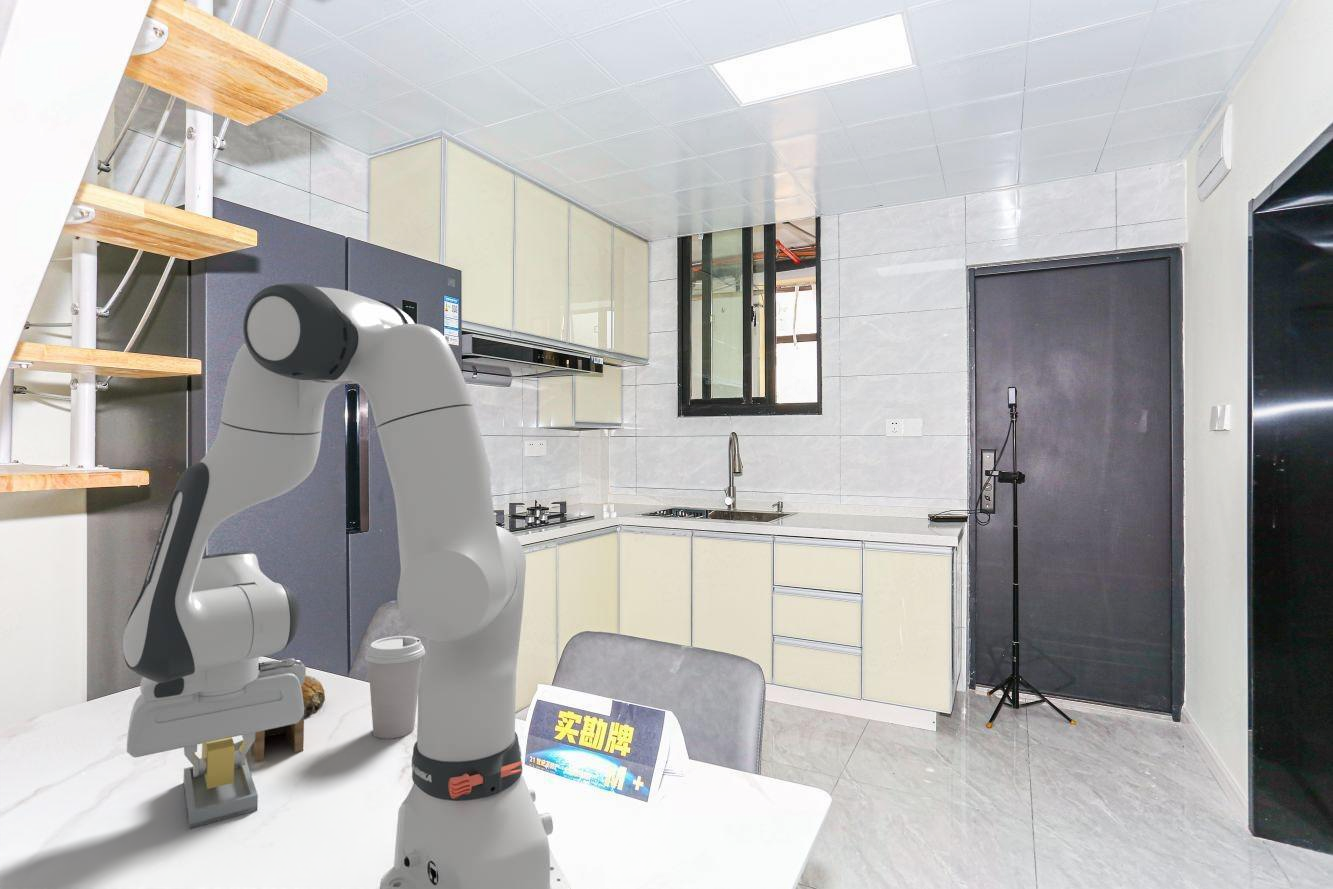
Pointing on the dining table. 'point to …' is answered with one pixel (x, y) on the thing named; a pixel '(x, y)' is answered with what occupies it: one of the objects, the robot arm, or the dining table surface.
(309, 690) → the bread roll
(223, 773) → the yellow rectangular block
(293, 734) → the dispenser
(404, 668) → the coffee cup
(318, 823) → the dining table surface
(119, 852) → the dining table surface
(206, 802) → the tray
